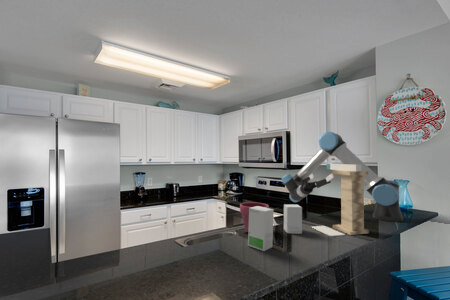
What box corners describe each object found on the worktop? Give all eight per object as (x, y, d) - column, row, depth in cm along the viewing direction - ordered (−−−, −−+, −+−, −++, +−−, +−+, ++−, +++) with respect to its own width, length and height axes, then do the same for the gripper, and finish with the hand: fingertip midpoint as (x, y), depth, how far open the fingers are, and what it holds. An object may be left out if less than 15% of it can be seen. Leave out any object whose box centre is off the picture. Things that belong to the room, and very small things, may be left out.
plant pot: (265, 226, 126) (265, 202, 127) (271, 235, 112) (271, 207, 113) (238, 226, 126) (238, 201, 127) (240, 234, 112) (241, 207, 113)
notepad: (323, 226, 128) (323, 225, 128) (345, 235, 113) (345, 234, 113) (310, 227, 125) (310, 226, 125) (331, 236, 111) (331, 235, 111)
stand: (349, 226, 128) (349, 170, 129) (368, 233, 116) (368, 171, 117) (332, 227, 125) (332, 170, 126) (350, 235, 113) (349, 171, 114)
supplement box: (302, 233, 115) (302, 207, 115) (286, 233, 115) (286, 207, 115) (298, 229, 122) (298, 204, 123) (283, 229, 122) (283, 204, 123)
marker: (331, 169, 137) (331, 163, 137) (361, 171, 117) (361, 164, 117) (326, 169, 136) (326, 163, 136) (356, 171, 116) (356, 164, 116)
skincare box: (247, 246, 98) (247, 207, 98) (256, 242, 103) (257, 205, 103) (264, 251, 92) (264, 210, 93) (273, 247, 97) (274, 208, 98)
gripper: (322, 194, 159) (343, 180, 142) (289, 195, 153) (306, 181, 135) (319, 183, 163) (338, 169, 146) (286, 184, 157) (303, 169, 139)
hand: (323, 175), depth 141 cm, fingers open, 13 cm apart
